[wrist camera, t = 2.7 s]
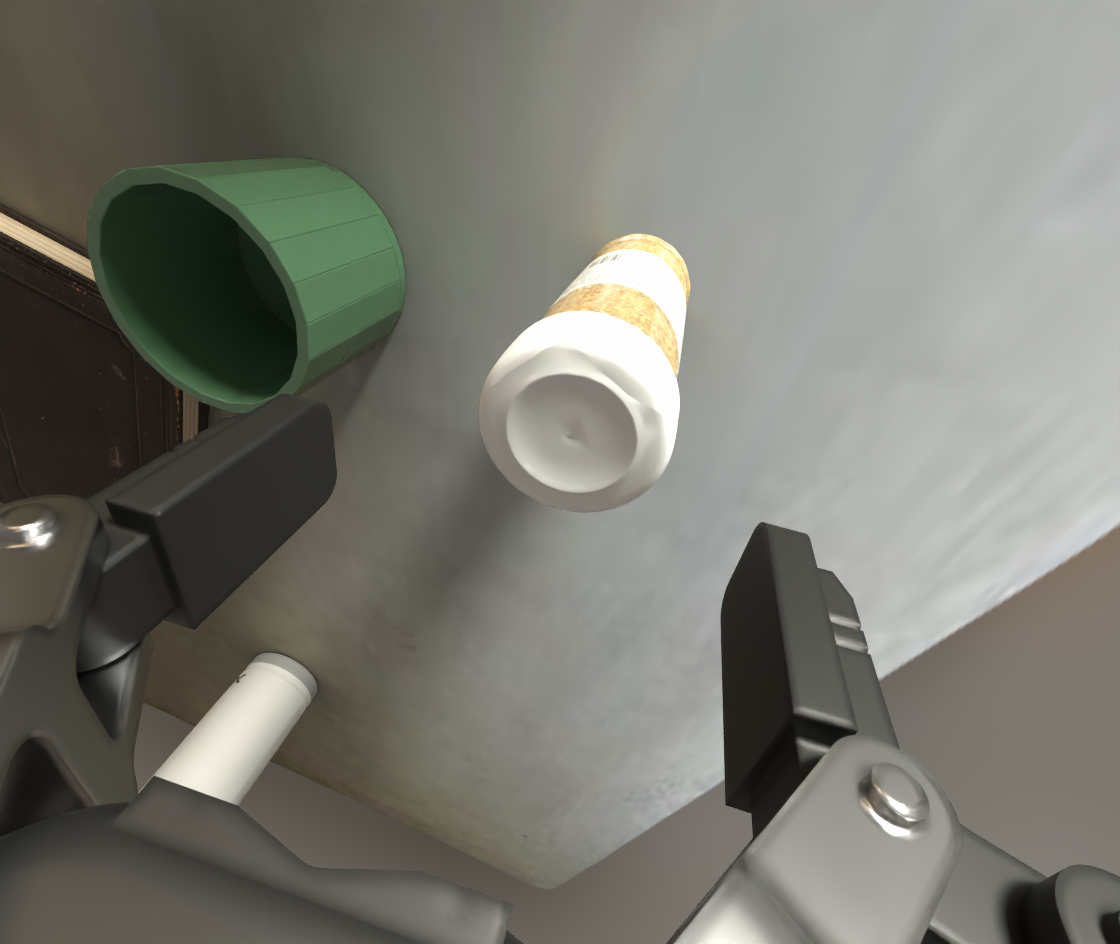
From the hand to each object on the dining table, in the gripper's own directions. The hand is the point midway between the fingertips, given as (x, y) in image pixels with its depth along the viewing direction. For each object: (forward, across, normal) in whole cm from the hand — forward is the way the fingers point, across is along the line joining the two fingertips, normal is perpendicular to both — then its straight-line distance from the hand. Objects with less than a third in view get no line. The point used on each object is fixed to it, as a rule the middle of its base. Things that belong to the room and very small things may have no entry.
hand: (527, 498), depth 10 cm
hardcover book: (+16, +33, +15) cm, 39 cm away
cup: (+16, +15, +2) cm, 22 cm away
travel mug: (+16, +22, +39) cm, 48 cm away
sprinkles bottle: (+16, 0, 0) cm, 16 cm away
